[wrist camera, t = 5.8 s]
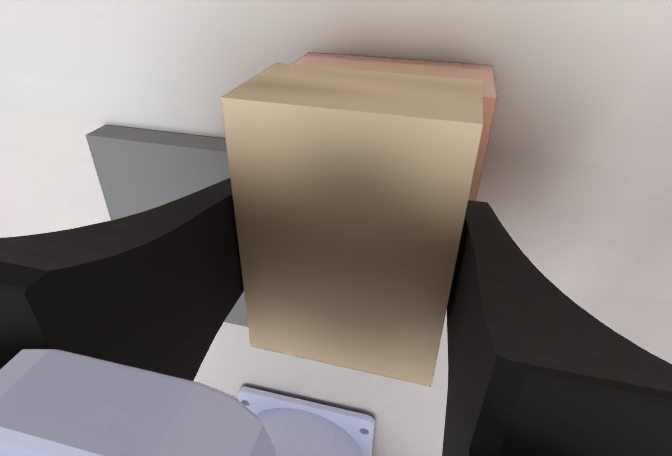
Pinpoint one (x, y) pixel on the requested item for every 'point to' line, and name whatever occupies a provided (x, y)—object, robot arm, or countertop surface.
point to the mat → (157, 173)
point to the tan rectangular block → (351, 210)
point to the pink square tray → (428, 70)
